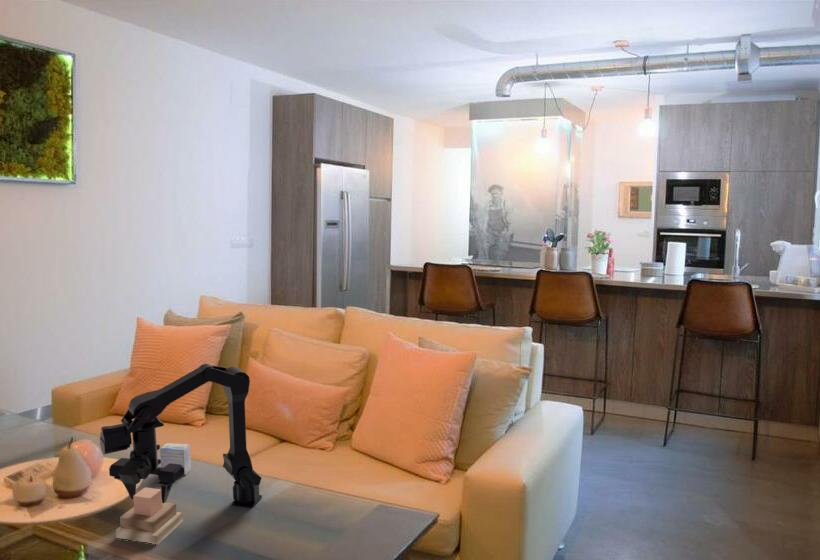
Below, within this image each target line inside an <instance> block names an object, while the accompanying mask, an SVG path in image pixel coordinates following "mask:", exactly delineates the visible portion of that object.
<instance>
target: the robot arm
mask: <svg viewBox="0 0 820 560" xmlns="http://www.w3.org/2000/svg"><path fill="white" fill-rule="evenodd" d="M250 381H251V380H250V377H249V375H248V374H247V373H246V372H245V371H243V370H242V369H240V368H238V367H237V366H230V367H224V366H219V365H218V366H217V365H212V364H209V363H203V364H201V365H199V367H197V368H195V369H193V370H191V371H190V372H188V373H186V374H185V375H183V376H181V377H180V378H178V379H176V380H174V381H172V382H171V383H168V384H166V385H164V386H163V387H161V388H159V389H156V390H152V391H148V392H147V391H146V392H144V393H142V394H138V395H136V396H134V397H133V398H132V399H130V401H129V403H128V407H127V408H128V409H127V410H126V412H125V414H124V415H123V416H122V418H121V419H120V422H121V423H118V424H114V425H107V426H102V427H101V428H100V437H99V445H100V451H101V452H102V455H108V454H112V453H117V452H121V451H126V450H128V448H129V449H130V448H131V445H132V450H131V451H130V452H129V458H127V457H121V458H119V459H118V460H115V462H113V463H112V464H110V466H109V467H108V473H109V476H110V477H113V478H114V479H115V480H117V481H120V482H121V483H122V484H123V485H124V487H125V489H126V491H127V493H128V496H129V497H130V499H131V500H134V499H133V496H134V495H135V494H137V493H136V492H137V485H139V483H140V482H141V480H146V479H147V478H148V477H149V476H150V475H155V476H156V475H157V476H158V480H159V482H158V483H157V484H158V485H159V486H160V489H161V495H162V503H165V502H167V500H168V498H169V495H170V492H171V490H172V487H173V484H174V483H175V482H176V481H177V480H179V479H180V478H181V477H182V476H185V475H184V467H183V466H182V465H181V464H172V463H169V464H168V465H167V466H165V467H164V468H161V466H159V465H161V458H158V451H159V450H160V449H161V445H160V444H157V430H156V428H161V427H164V425H165V423H164V422H163V421H162V420H161V419H160V418H158V416H159V415H161V414H162V413H163V412H164V410H165V409H166V408H167V407H168V406H169V405H171V404H173V403H174V402H175V401H177V400H179V399H181V398H182V397H184V396H187V395H188V394H189V393H191V392H193V391H195V390H197V389H198V388H200V387H201V386H203V385H205V384H206V383H209V382H210V383H214V384H217V385H221V386H223V390H224V393H225V395H226V399H227V403H228V404H227V405H228V406H227V408H228V429H229V430H228V433H229V449H228V452H227V453H223V454H222V457H223V463H222V467H223V468H224V469H225V471H226V472H227V474H229V475H230V476H231V478H232V479H233V480H235V481H233V486H232V499H233V501H232V502H231V505H232V506H237V507H238V506H239V507H244V508H245V507H246V508H254V507H255V505H257V503H258V502H259V501H260V500H261V499H262V498H263V496H262V495H261V494H260V484H261V480H262V477H261V476H260V475H259V474H258V473H257V472H256V470H254V469H253V464H252V459H251V456H250V454H249V451H248V448H247V430H246V429H247V426H246V423H247V422H246V399H247V397H248V394H249V391H250V385H251V382H250Z"/></svg>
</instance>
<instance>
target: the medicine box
mask: <svg viewBox="0 0 820 560" xmlns="http://www.w3.org/2000/svg"><path fill="white" fill-rule="evenodd" d="M190 448H191V447H190V443H189V444H187V443H170V442H169V443H165V444H164V445H162V446H161V447H160V449H159V452H160V453H159V454H160V459H161V463H160V465H161V466H160V467H161V468H164V467H165V466H167V465H168V464H169V463H172V464H181V465H182V466H183V467H184V475H183V476H187V474H188V473H189V472H190V471H191V470H192V465H191V464H192V463H191V450H190Z"/></svg>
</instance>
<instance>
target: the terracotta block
mask: <svg viewBox="0 0 820 560" xmlns="http://www.w3.org/2000/svg"><path fill="white" fill-rule="evenodd" d="M132 500H133V507H134V514H140V515H146V516H152V515H153V514H155V513H156V512H157V511H158V510H160V509H161V508H162V495H161V488H160V489H159V488H153V487H143V488H142V489H141V490H140V491H138V492H137V493H136V494H135V495H134V496H133V499H132Z"/></svg>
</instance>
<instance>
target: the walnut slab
mask: <svg viewBox="0 0 820 560" xmlns="http://www.w3.org/2000/svg"><path fill="white" fill-rule="evenodd" d="M177 512H178V511H177V503H173V502H167V501H166V502H165V503H162V508H161V509H160V510H158V511H157V512H156V513H155V514H153V515H152V516H146V515H140V514H134V506H133V507H132V508H130V509H129V510H127V511H126V512H124V513H123V514H122V515H121V516H119V523H120V526H121V528H125V529H131V530H137V531H144V532H150V533H155V532H156V531H157V530H159V529H160V528H161V527H162V526H163V525H164V524H166V523H167V522H168V521H169V520H170V519H171V518H173V517H174V516H175V515H176V514H177ZM120 526H119V527H120Z"/></svg>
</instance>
